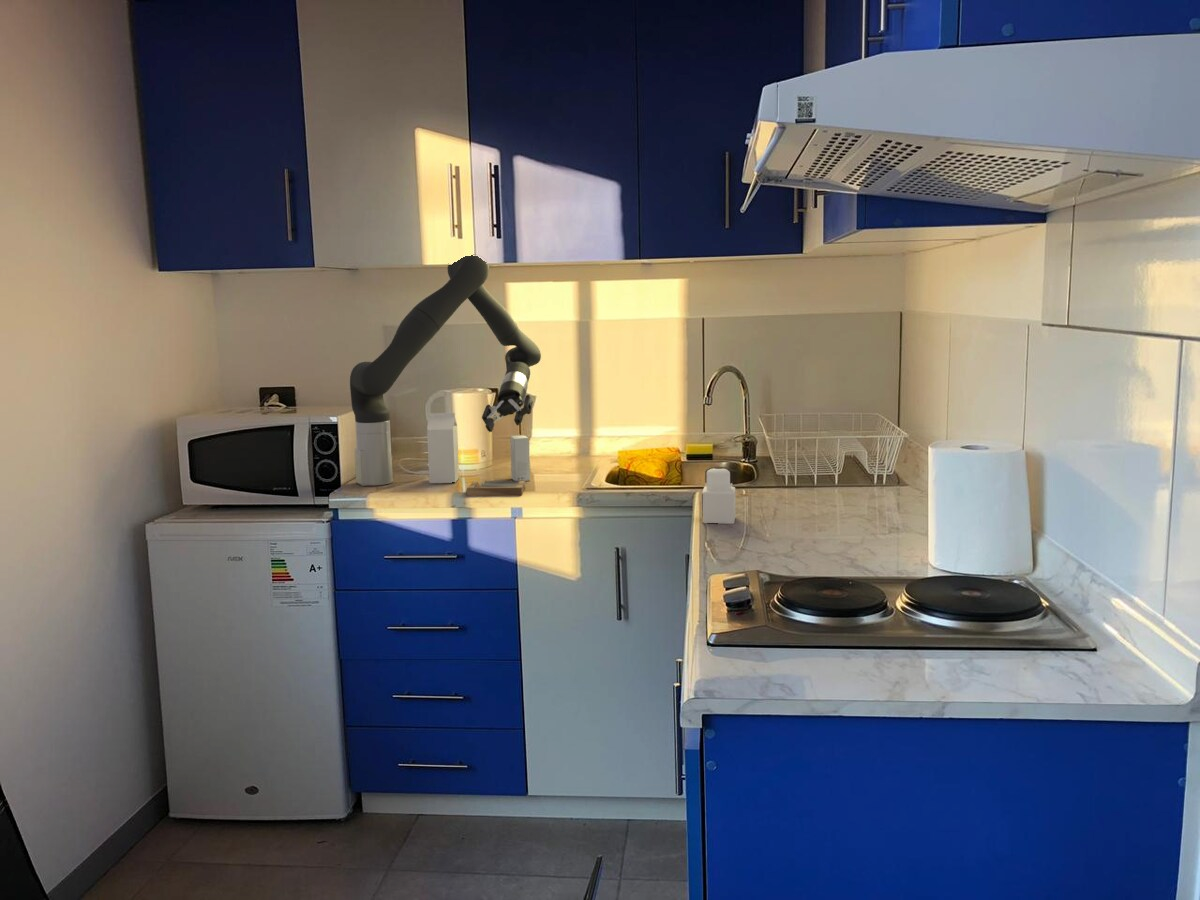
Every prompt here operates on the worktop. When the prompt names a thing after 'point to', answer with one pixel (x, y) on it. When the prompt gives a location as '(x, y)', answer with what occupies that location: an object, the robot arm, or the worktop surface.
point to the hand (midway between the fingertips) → (502, 426)
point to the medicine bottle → (718, 496)
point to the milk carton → (442, 448)
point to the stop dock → (497, 488)
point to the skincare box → (520, 458)
